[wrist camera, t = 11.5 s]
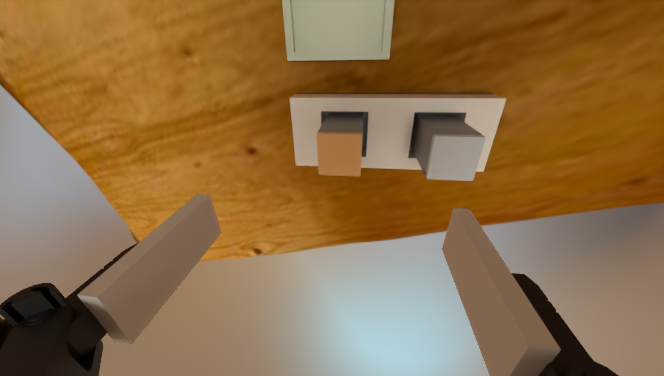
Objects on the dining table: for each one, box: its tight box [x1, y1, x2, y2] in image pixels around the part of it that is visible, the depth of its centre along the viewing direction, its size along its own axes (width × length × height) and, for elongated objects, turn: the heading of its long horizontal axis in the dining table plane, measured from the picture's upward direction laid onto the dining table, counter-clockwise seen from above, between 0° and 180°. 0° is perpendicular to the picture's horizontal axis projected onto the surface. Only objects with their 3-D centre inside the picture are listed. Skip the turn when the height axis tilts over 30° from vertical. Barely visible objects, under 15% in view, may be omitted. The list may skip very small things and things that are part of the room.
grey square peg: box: [411, 113, 486, 181], centre depth 25 cm, size 4×4×9 cm
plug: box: [317, 112, 363, 177], centre depth 26 cm, size 4×4×9 cm
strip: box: [290, 93, 507, 172], centre depth 29 cm, size 8×22×4 cm, turn 91°
